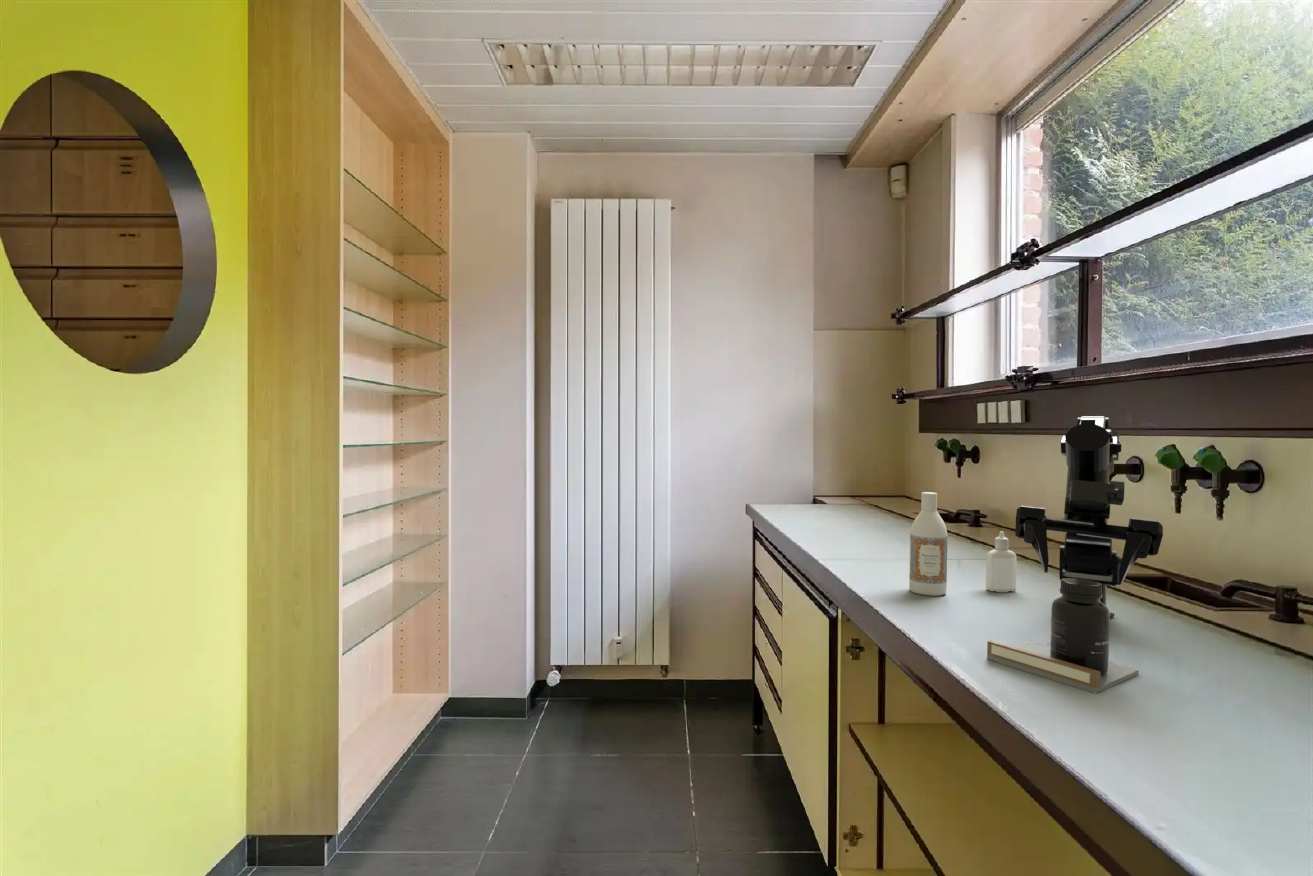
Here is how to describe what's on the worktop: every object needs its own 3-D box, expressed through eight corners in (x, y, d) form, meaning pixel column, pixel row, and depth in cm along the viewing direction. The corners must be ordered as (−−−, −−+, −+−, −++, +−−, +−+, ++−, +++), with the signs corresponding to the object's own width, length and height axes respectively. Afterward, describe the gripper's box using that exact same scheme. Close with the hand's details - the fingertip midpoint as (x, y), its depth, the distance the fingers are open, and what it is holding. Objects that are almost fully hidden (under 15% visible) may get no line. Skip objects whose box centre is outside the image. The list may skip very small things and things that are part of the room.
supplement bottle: (1111, 681, 88) (1113, 590, 88) (1050, 672, 92) (1052, 583, 91) (1106, 664, 94) (1107, 579, 94) (1049, 656, 98) (1051, 573, 97)
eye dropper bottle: (1017, 594, 134) (1019, 534, 134) (986, 591, 136) (987, 532, 136) (1014, 589, 139) (1015, 530, 138) (984, 586, 141) (985, 529, 140)
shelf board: (1031, 644, 105) (1031, 627, 105) (1138, 674, 92) (1139, 655, 92) (986, 659, 98) (986, 641, 98) (1095, 693, 86) (1095, 673, 86)
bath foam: (910, 595, 133) (911, 494, 133) (908, 586, 140) (909, 490, 139) (948, 598, 131) (950, 495, 131) (944, 589, 138) (946, 491, 137)
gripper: (1021, 454, 107) (1011, 536, 99) (1168, 466, 97) (1170, 557, 89) (1020, 497, 114) (1010, 576, 106) (1156, 511, 105) (1157, 599, 97)
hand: (1082, 576), depth 99 cm, fingers open, 9 cm apart
